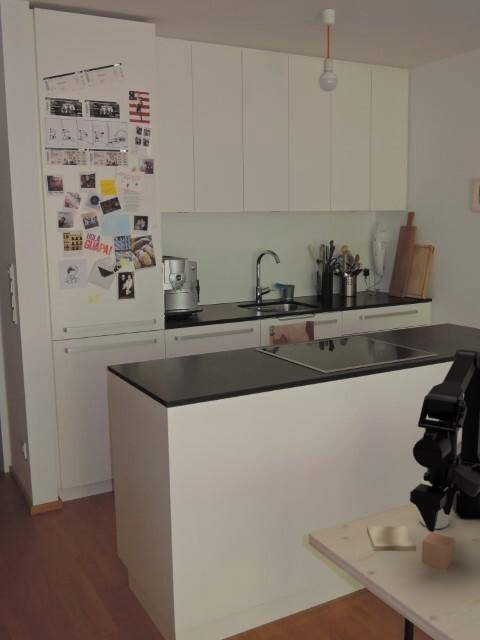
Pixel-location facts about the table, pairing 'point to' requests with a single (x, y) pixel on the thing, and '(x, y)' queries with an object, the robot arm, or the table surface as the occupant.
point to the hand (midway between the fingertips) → (439, 522)
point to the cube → (438, 550)
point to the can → (441, 518)
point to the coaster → (390, 538)
